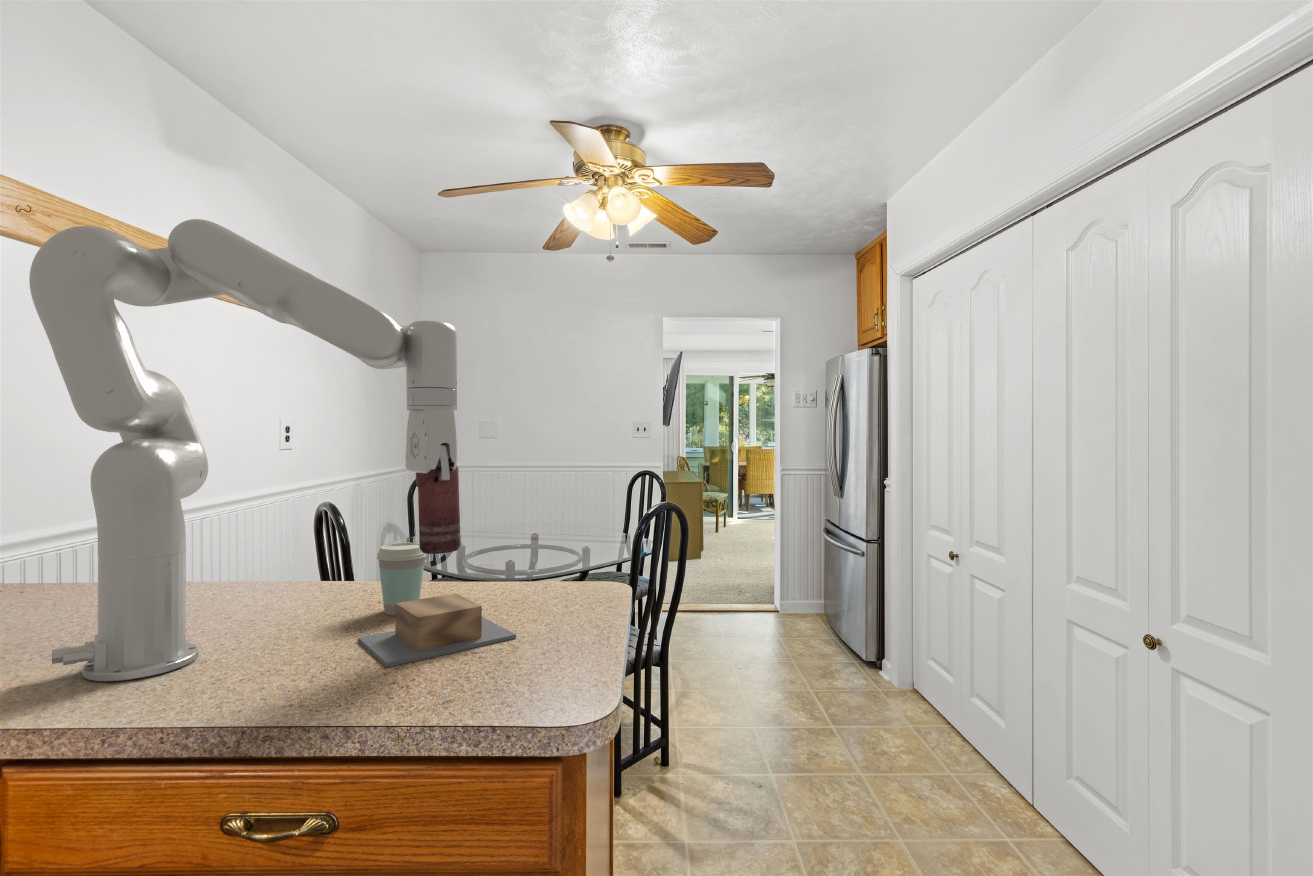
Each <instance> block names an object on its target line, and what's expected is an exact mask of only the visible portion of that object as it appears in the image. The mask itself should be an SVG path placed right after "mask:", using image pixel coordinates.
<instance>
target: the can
mask: <svg viewBox="0 0 1313 876" xmlns="http://www.w3.org/2000/svg"><path fill="white" fill-rule="evenodd" d="M451 464H452V463H449V467H453V466H452V465H451ZM451 470H453V469H452V468H449V473H450V480H449V481H447V482H443V483H438V482H437V483H435V481H434V482H433V479H435V478H434V477H437V475H438V473H439V470H438V467H437V468H435V469H431V470H430V472H429V473H416V472H415V483H416V488H417V497H418V498H417V499H418V501H417V503H418V539H419V541H418V543H420V550H421V551H422V553H426V555H427V554H428V555H438V554H449V553H453V552H457V551H458V550H459V548H460V547H461V520H460V518H461V517H460V516H461V515H460V512H461V511H460V486H459V485H460V484H459V483H460V478H459V477H460V476H459V466H458V465H456V468H455V470H454V471H452V472H450V471H451Z"/></svg>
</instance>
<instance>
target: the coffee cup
mask: <svg viewBox="0 0 1313 876" xmlns="http://www.w3.org/2000/svg"><path fill="white" fill-rule="evenodd" d="M376 555H377V557H376V559H377V560H378V566H379V567H378V568H379V574H380V575H379V577H380V585H381V595H382V602H383V609H384V614H386V615H387V616H395V603H400V602H406V601H412V600H419V599H421V593H422V592H421V591H422V583H423V577H424V567H425V560H426V559H425V558H426V557H427V554H426V553H422V551H421V550H420V543H419V542H395V543H389V544H384V545H382V546H380V547H379V549H378V552H377V554H376Z"/></svg>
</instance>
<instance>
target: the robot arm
mask: <svg viewBox="0 0 1313 876" xmlns="http://www.w3.org/2000/svg"><path fill="white" fill-rule="evenodd" d="M28 279H29V291H30V296H31V300H32V302H33V305H34V308H35V310H36V313H37V316H38V318H39V320H40V322H41V325H42V327H43V330H44V331H45V334H46V336H47V339H48V341H49V344H50V347H51V348H52V352H53V355H54V359H55V361H56V364H57V366H58V369H59V372H60V374H61V377H62V379H63V382H64V385H65V387H66V389H67V392H68V396H69V397H70V401H71V403H72V405H73V407H74V410H75V412H76V414H77V416H78V417H79V419H80V420H81V421H82V422H83V423H84V424H86V426H89V427H90V428H92V429H95V430H98V431H102V432H107V433H118V434H119V436H120V438H121V441H120V442H119V443H116V444H114V445H112V446H110V447H109V448H108V449H106V450H105V451H103V453H101V454H100V455H99V456H98V458H97V459H96V460H95V463H94V464H93V467H92V469H91V472H90V491H91V497H92V498H91V499H92V503H93V506H94V511H95V518H96V519H95V520H96V527H97V528H96V531H97V634H95V635H94V640H91V641H85V642H84V644H83V645H78V646H77V645H76V646H72V647H71V646H66V647H59V648H53V649H51V665H56V664H62V666H68V665H69V666H70V665H74V664H77V663H83V662H86V663H84V664H83V665H82V667H81V675H82V677H83V678H84V679H86V680H90V681H95V682H119V681H120V682H121V681H128V680H129V681H131V680H134V679H142V678H147V677H153V676H157V675H160V674H164V673H168V672H171V671H174V670H177V669H180V668H183V667H185V666H187V665H189V664H191V663H192V662H194V661H195V660H196V659H197V658H198V657H199V655H200V654H199V653H200V652H199V651H200V648H199V646H198V645H196V644H194V643H190V642H186V630H187V629H186V626H187V625H186V622H187V621H186V620H187V619H186V617H187V616H186V610H187V609H186V607H187V605H186V604H187V601H186V600H187V599H186V597H187V596H186V595H187V594H186V593H187V583H186V582H187V581H186V580H187V547H186V545H187V543H186V542H187V539H186V538H187V536H186V535H187V533H186V532H187V531H186V524H185V523H186V522H185V517H184V511H183V506H182V501H181V500H183V499H185V498H188V497H189V496H192V495H193V494H195V493H196V492H197V491H199V490H200V489H201V488H202V486H203V485H204V483H205V482H206V480H207V479H208V475H209V462H208V458H207V453H206V451H205V447H204V445H203V442H202V440H201V438H200V435H199V432H198V430H197V427H196V424H195V422H194V419H193V417H192V413H191V411H190V409H189V405H188V403H187V401H186V398H185V397H184V395H183V393H182V391H181V390H180V388H179V387H178V386H177V385H176V383H174V382H173V381H172V380H171V379H170V378H168V377H167V376H165V375H163V374H161V373H159V372H156V371H153V370H150V369H146V367H145V365H144V364H143V361H142V359H141V357H140V355H139V352H138V349H137V347H136V345H135V342H134V339H133V336H132V334H131V331H130V328H129V327H128V325H127V323H126V321H125V320H124V318H123V316H122V315H121V313H120V312H119V310H118V308H117V306H116V302H115V300H116V301H119V302H121V303H122V304H125V305H131V306H136V307H142V308H143V307H146V308H147V307H159V306H165V305H166V306H167V305H170V304H178V303H184V302H190V301H196V300H202V299H207V298H208V299H209V298H212V297H213V298H215V297H219V296H224V295H225V296H227V297H229V298H231V299H233V300H236V301H237V302H239V303H241V304H242V305H245V306H247V307H249V308H250V309H253V310H254V311H256V312H259V313H260V314H262V315H264V316H265V317H268V318H269V319H271V320H274V321H276V322H278V323H281V324H286V325H290V326H294V327H296V328H298V329H301V330H302V331H305V332H308V333H309V334H311V335H313V336H315V337H316V338H319V339H321V340H323V341H325V342H327V343H329V344H330V345H332V346H334V347H337V348H338V349H340V350H342V351H344V352H345V353H347V354H349V355H352V356H353V357H355V358H357V359H359V360H360V361H361V362H362V363H363V364H366V366H368V367H370V368H373V369H377V370H391V369H401V368H402V369H403V368H405V369H406V370H405V372H406V373H405V376H406V379H405V380H406V384H405V385H406V411H408V412H409V413H408V416H407V424H406V425H407V427H406V442H405V443H406V445H405V468H406V470H407V471H408V472H411V473H415V474H416V473H429V472H430V470H431V469H435V468H437V467H438V470H439V473H438V475H437V477H434V478H435V479H433V482H434V481H435V483H437V482H438V483H443V482H447V481H449V480H450V473H449V468H452V469H453V470H451V471H450V472H452V471H454V470H455V468H456V465H457V463H458V461H457V460H458V447H457V445H458V444H457V442H458V441H457V440H458V439H457V428H456V417H455V416H456V415H455V411H457V410H458V365H457V364H458V363H457V362H458V359H457V358H458V357H457V355H458V353H457V352H458V351H457V341H458V340H457V331H456V328H455V326H453V325H452V324H450V323H448V322H445V321H437V320H417V321H413V322H411V323H409V324H408V325H402V324H398V323H397V322H396V321H395V320H394V319H393V318H392V317H390V316H389V315H388V314H387V313H385V312H383V311H381V310H379V309H377V307H374V306H372V305H370V304H368V303H366V302H365V301H363V300H361V299H359V298H357V297H355V296H354V295H352V294H350V293H348V292H346V291H344V290H342V289H340V288H338V287H337V286H334V285H333V284H331V283H328V282H326V281H324V280H322V279H320V278H318V277H317V276H315V275H313V274H312V273H310V272H308V271H306V270H303V269H302V268H301V267H298V266H296V265H295V264H292V263H290V262H289V261H287V260H285V259H283V258H282V257H279V256H278V255H276V254H274V253H272V252H271V251H268V250H267V249H265V248H263V247H261V246H259V245H257V244H255V243H254V242H252V241H250V240H248V239H247V238H244V237H243V236H241V235H239V234H237V233H235V232H234V231H232V230H230V229H228V228H226V227H224V226H223V225H220V224H218V223H216V222H213V221H210V220H206V219H201V218H199V219H198V218H193V219H191V218H190V219H187V220H184V221H182V222H180V223H179V224H177V225H176V226H174V228H172V229H171V232H170V233H169V235H168V238H167V246H165V247H159V248H150V249H146V247H145V248H144V247H143V246H142V245H140V244H138V243H136V242H135V241H133V240H131V239H130V238H128V237H126V236H124V235H122V234H119V233H118V232H115V231H113V230H110V229H106V228H103V227H99V226H93V225H92V226H90V225H79V226H77V225H76V226H72V227H68V228H66V229H63V230H60V231H59V232H57V233H55V234H54V235H53V236H51V237H49V238H48V239H47V240H46V241H45V242H44V243H43V244H42V245H41V246H40V248H39V249H38V251H36V254H35V255H34V258H33V259H32V262H31V266H30V270H29V278H28ZM449 463H452V464H451V465H452V466H453V467H449ZM457 466H458V465H457Z"/></svg>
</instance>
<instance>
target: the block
mask: <svg viewBox="0 0 1313 876" xmlns="http://www.w3.org/2000/svg"><path fill="white" fill-rule="evenodd" d="M482 606H483V605H481V604H479V603H476V602H474V601H472V600H470V599H469V598H466V597H464V596H462V595H460V594H458V593H450V594H444V595H438V596H432V597H425V598H420V599H419V600H412V601H406V602H400V603H395V615H394V616H395V617H394V618H395V619H394V621H395V624H394V625H395V626H394V631H395V635H397V636H398V637H399V638H401V639H402V640H403V641H405V642H406V643H407V644H409V645H410V646H411V647H413V648H414V649H415V650H417V651H422V650H426V649H431V648H436V647H440V646H445V645H449V644H454V643H459V642H463V641H468V640H473V639H477V638H481V636H482V617H483V616H482V614H483V613H482V612H483V611H482V609H483V608H482Z"/></svg>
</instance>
